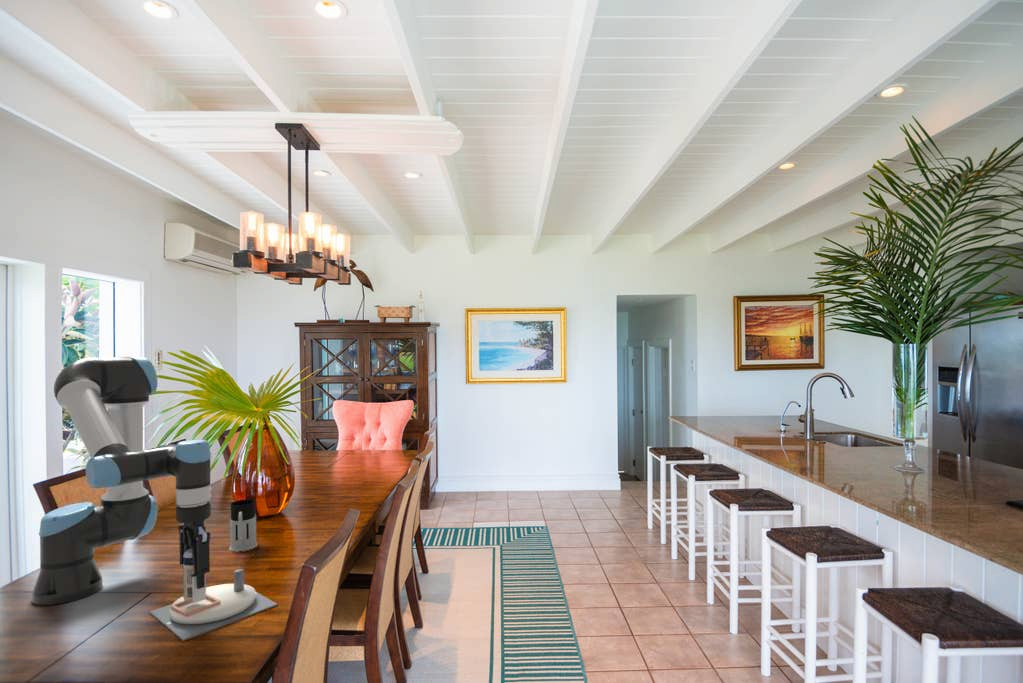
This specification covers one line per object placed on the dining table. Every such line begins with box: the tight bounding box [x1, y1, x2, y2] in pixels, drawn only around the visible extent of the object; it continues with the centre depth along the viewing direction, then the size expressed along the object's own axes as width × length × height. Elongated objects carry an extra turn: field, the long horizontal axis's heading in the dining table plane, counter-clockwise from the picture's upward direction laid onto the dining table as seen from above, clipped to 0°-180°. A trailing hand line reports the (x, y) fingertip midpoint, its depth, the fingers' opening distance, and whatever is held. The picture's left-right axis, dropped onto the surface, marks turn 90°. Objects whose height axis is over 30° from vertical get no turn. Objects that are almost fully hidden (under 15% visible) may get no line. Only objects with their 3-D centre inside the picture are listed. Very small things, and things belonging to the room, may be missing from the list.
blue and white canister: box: [182, 548, 207, 602], centre depth 137 cm, size 5×5×12 cm
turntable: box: [170, 568, 256, 624], centre depth 140 cm, size 19×19×7 cm
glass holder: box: [228, 499, 258, 553], centre depth 183 cm, size 9×14×15 cm, turn 20°
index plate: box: [149, 591, 278, 642], centre depth 140 cm, size 22×22×1 cm
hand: (194, 597), depth 137 cm, fingers closed on blue and white canister, 5 cm apart
